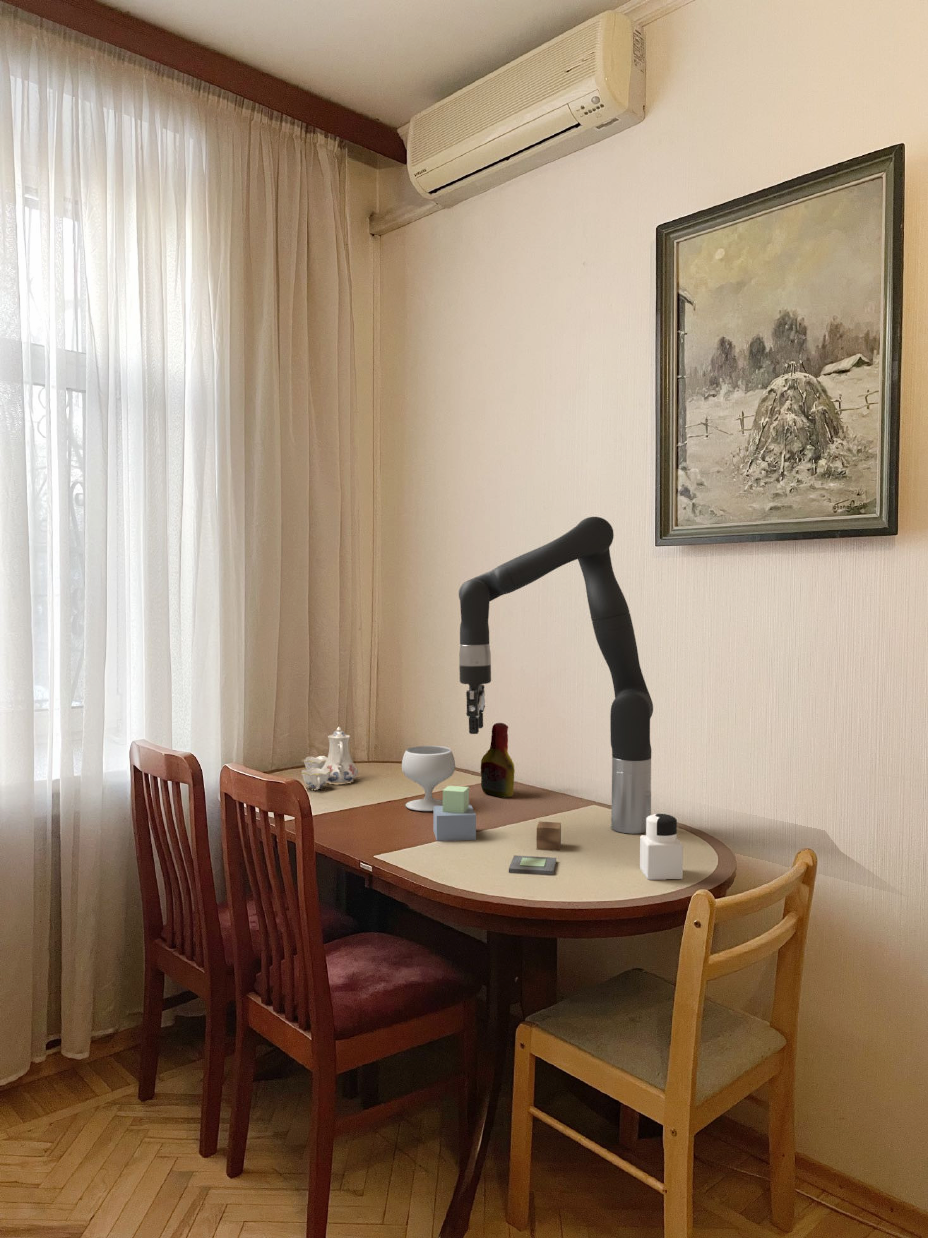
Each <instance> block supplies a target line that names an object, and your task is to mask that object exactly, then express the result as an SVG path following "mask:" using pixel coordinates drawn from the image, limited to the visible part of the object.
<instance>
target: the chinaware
mask: <svg viewBox="0 0 928 1238" xmlns="http://www.w3.org/2000/svg"><path fill="white" fill-rule="evenodd" d="M350 737H351V735H349V734H346V732H344V731H343V730H342V728H341V726H338V727H337V728H336V730H335V731H333V733H332V734H329V735H327V738H328V741H329V742H328V743H329V748H328V749H329V751H328V753H327V756H325V755H319V756H317V757H314V756H306V757H305V758H302V759H301V761H302V762H304V763H303V764H304V766H305V769H301V770H300V774H301V775H302V778H303V781H304V783H305V785H307V787H309V788H310V789H311V788H312V789H316V790H315V791H319V790H318V789H319V788H322V787H324V785H326V782H331V783H347V782H352V781H354V779H355V777H356V776H357V775H358V772H359V770H358V768H357V766H356V764H355V763H354V761H353V760H352V757H351V754H350V749H349V740H350Z"/></svg>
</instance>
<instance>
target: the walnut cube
mask: <svg viewBox="0 0 928 1238" xmlns="http://www.w3.org/2000/svg"><path fill="white" fill-rule="evenodd" d="M561 845H562V822H557V821H554V822H553V821H538V823H537V825H536V850H537V851H538V850H542V851H555V852H556V851H557V852H559V851H560V849H561Z"/></svg>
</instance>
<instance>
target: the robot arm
mask: <svg viewBox="0 0 928 1238" xmlns="http://www.w3.org/2000/svg"><path fill="white" fill-rule="evenodd" d="M614 534H615V533H614V529H613V526H612V525H611V523H610V522H609V521H608V520H606V519H605V518H602V517H599V516H588V517H587V518H584V519H582V520H581V521H580V522H579V523H578V524H576V526H574V527H573V528H572V529H570V530H568V531H567V532H566V533H565V534H563V535H561V536H559V537H558V538H556V539H554V540H552V541H549V543H547V544H544V545H542V546H539V547H537V548H535V549H533V550H530V551H528V552H526V553H523V554H521V555H519V556H517V557H515V558H513V559H510V560H508V561H506V562H504V563H502V564H500V565H498V566H496V567H495V568H493V569H491V570H489V571H487V572H485V573H483V574H480V575H478V576H475V577H473V578H471V579H468V580H466V581H464V582H463V583H462V584H461V586H460V587H459V590H458V599H459V601H460V602H459V605H460V624H459V625H460V626H459V654H458V655H459V656H458V658H459V660H458V661H459V662H458V663H459V664H458V666H459V668H458V669H459V683H460V684H462V685H468V689H467V690H466V692H465V693H466V694H465V696H466V716H467V718H468V732H469V734H470V735H478V734H479V732H480V729H483V727H484V712H485V708H486V704H485V702H486V700H485V699H486V698H485V696H486V693H485V685H487V684H490V683H491V682H492V662H491V661H492V659H491V658H492V657H491V656H492V655H491V653H492V652H491V645H490V626H489V616H490V602H491V601H494V600H495V599H498V598H499V597H501V596H504V595H507V594H511V593H513V592H516V591H517V590H520V589H522V588H523V587H525V586H528V585H530V584H532V583H533V582H536V581H537V580H539V579H541V578H543V577H544V576H546V575H548V574H550V573H551V572H553V571H554V570H556V569H559V568H561V567H562V566H564V565H566V564H568V563H569V564H570V563H571V562H574V561H576V560H577V561H578V564H579V566H580V569H581V572H582V576H583V579H584V585H585V593H586V597H587V604H588V608H589V613H590V619H591V620H590V621H591V624H592V629H593V632H594V636H595V639H596V642H597V645H598V646H599V647H598V648H599V650H600V652H601V654H602V656H603V657H602V658H604V660H605V663H606V664H607V667H608V668H609V672H610V676H611V680H612V685H613V692H614V699H613V702H612V703H611V707H610V715H609V717H610V721H609V722H610V723H609V724H610V725H609V726H610V747H611V806H610V808H611V816H610V817H611V818H610V823H611V824H610V827H611V829H612V830H614V831H615V832H618V833H621V834H622V833H624V834H633V835H634V834H635V835H636V834H637V835H638V834H646V818H647V817H648V816H650V815H652V745H651V744H652V743H651V718H652V717H653V712H654V704H653V701H652V698H651V694H650V692H649V689H648V687H647V684H646V680H645V677H644V674H643V671H642V669H641V664H640V659H639V652H638V645H637V640H636V635H635V630H634V626H633V624H634V623H633V619H632V616H631V612H630V608H629V606H628V603H627V600H626V597H625V595H624V592H623V591H622V589H621V587H620V585H619V583H618V580H617V578H616V575H615V572H614V568H613V565H612V564H613V563H612V558H611V552H610V548H611V545H612V544H613V540H614Z"/></svg>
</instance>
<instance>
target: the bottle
mask: <svg viewBox="0 0 928 1238" xmlns="http://www.w3.org/2000/svg"><path fill="white" fill-rule="evenodd" d="M508 730H509V726H508V725H507V724H505V723H503V722H497V723H494V724H493V725H492V728H491V736H490V737H491V738H490V747H489V749H488V750H487V751H486V753H485V754H483V756H482V758H481V760H480V777H481V779H480V786H481V789H482V791H483V793H485V794H486V795H487V794H488V795H492V796H495V797H498V798H504V799H505V798H510V797H512V796H513V794H514V785H515V770H516V769H515V764H514V762H513V758H511V756H510V755H509V752H508V751H509V750H508V748H509V736H508V735H509V734H508Z"/></svg>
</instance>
